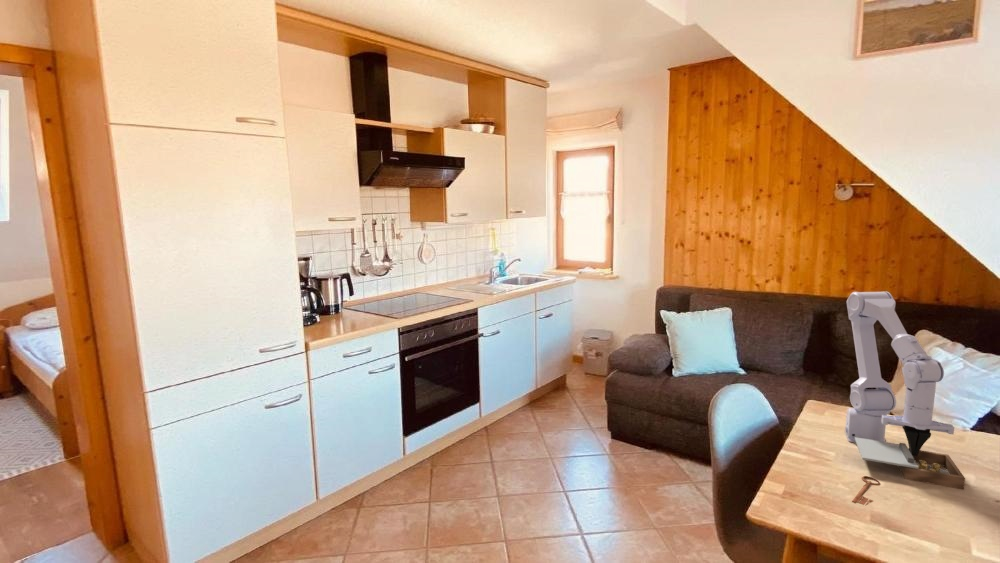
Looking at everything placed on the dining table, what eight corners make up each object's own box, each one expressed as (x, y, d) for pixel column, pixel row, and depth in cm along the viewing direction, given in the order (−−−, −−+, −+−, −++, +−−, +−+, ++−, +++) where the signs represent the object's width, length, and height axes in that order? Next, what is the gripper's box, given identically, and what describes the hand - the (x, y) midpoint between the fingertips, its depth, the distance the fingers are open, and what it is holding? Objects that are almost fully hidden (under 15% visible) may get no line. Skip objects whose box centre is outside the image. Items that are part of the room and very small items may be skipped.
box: (904, 478, 129) (905, 467, 129) (893, 456, 140) (894, 446, 140) (963, 489, 124) (964, 478, 123) (947, 465, 135) (948, 454, 134)
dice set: (911, 471, 132) (911, 464, 132) (916, 464, 135) (917, 457, 135) (936, 478, 128) (936, 471, 128) (940, 471, 131) (941, 464, 131)
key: (872, 512, 117) (890, 487, 127) (873, 509, 117) (891, 484, 126) (843, 500, 121) (863, 476, 131) (844, 496, 121) (864, 473, 131)
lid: (862, 459, 133) (862, 453, 132) (854, 438, 144) (855, 433, 143) (918, 468, 127) (918, 462, 127) (905, 446, 138) (906, 441, 138)
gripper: (887, 406, 130) (882, 455, 132) (960, 415, 124) (954, 467, 126) (881, 396, 136) (877, 443, 139) (951, 405, 130) (945, 454, 132)
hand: (913, 454), depth 133 cm, fingers closed
